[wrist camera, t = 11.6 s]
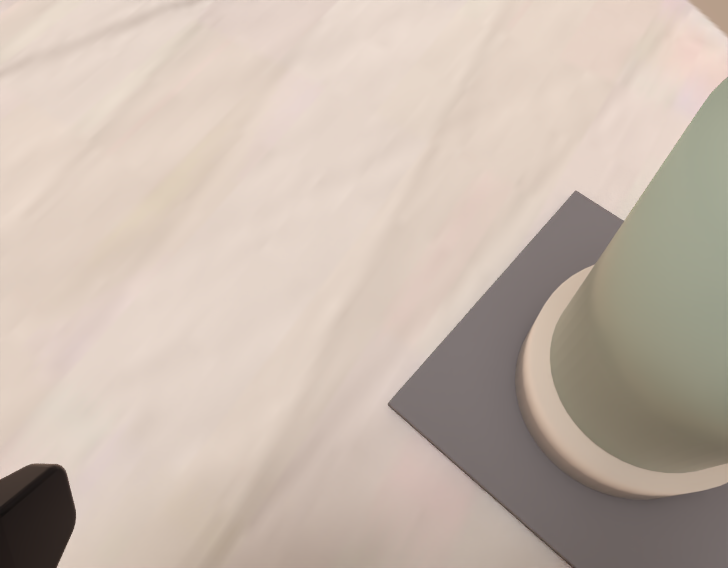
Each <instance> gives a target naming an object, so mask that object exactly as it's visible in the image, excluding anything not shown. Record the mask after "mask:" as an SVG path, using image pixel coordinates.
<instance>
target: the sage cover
mask: <svg viewBox="0 0 728 568" xmlns="http://www.w3.org/2000/svg"><path fill="white" fill-rule="evenodd" d="M550 365H551V374H552V378H553V382H554V386H555V388H556V391H557V393H558V396H559V399H560V401H561V402H562V404H563V406H564V408H565V410H566V412H567V413H568V414H569V416H570V417H571V419H572V420H573V421H574V423H575V424H576V425H577V426H578V427H579V429H580V430H581V431H582V432H583V433H584V434H585V435H586V436H587V437H588V438H589V439H590V440H592V441H593V442H594V443H595V444H596V445H597V446H599V447H600V448H602V449H603V450H605V451H606V452H607V453H609V454H611V455H612V456H614V457H616V458H618V459H620V460H622V461H624V462H626V463H629V464H631V465H634V466H636V467H639V468H643V469H647V470H650V471H656V472H663V473H687V472H695V471H699V470H703V469H707V468H711V467H715V466H719V465H723V464H727V463H728V77H727V78H726V79H725V80H724V81H723V82H722V83H721V84H720V85H719V86H718V87H717V88H716V89H715V90H714V91H713V92H712V93H711V94H710V95H709V97H708V98H707V99H706V101H705V102H704V104H703V105H702V106H701V108H700V109H699V111H698V112H697V114H696V115H695V117H694V118H693V120H692V121H691V123H690V124H689V126H688V127H687V129H686V130H685V132H684V133H683V135H682V136H681V138H680V139H679V140H678V142H677V143H676V145H675V146H674V148H673V149H672V151H671V152H670V154H669V155H668V157H667V158H666V160H665V161H664V163H663V164H662V166H661V167H660V169H659V170H658V172H657V173H656V175H655V176H654V178H653V179H652V181H651V182H650V184H649V185H648V187H647V188H646V189H645V191H644V192H643V194H642V195H641V197H640V198H639V200H638V201H637V203H636V204H635V206H634V207H633V209H632V210H631V212H630V213H629V215H628V216H627V218H626V219H625V221H624V222H623V224H622V225H621V227H620V228H619V230H618V231H617V233H616V234H615V235H614V237H613V238H612V240H611V241H610V243H609V244H608V246H607V247H606V249H605V250H604V252H603V253H602V255H601V256H600V258H599V259H598V261H597V262H596V264H595V265H594V267H593V268H592V270H591V271H590V273H589V274H588V276H587V277H586V279H585V280H584V281H583V283H582V284H581V286H580V287H579V289H578V290H577V292H576V293H575V295H574V296H573V298H572V299H571V301H570V302H569V304H568V305H567V307H566V308H565V310H564V311H563V313H562V314H561V316H560V318H559V320H558V322H557V324H556V326H555V329H554V333H553V336H552V341H551V347H550Z"/></svg>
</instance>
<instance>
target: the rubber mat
mask: <svg viewBox="0 0 728 568" xmlns="http://www.w3.org/2000/svg"><path fill="white" fill-rule="evenodd" d="M623 222H624V221H623V220H621V219H620V218H618V217H617V216H615V215H614V214H612V213H610V212H609V211H607V210H606V209H604V208H603V207H601V206H599V205H598V204H596V203H595V202H593V201H592V200H590V199H588V198H587V197H585V196H584V195H582V194H581V193H579V192H577V191H575V192H574V193H573V194H572V195H571V196H570V198H569V199H568V200H567V201H566V202H565V203H564V204H563V205H562V207H561V208H560V209H559V210H558V211H557V212H556V213H555V215H554V216H553V217H552V218H551V219H550V220H549V221H548V222H547V224H546V225H545V226H544V227H543V228H542V229H541V230H540V232H539V233H538V234H537V235H536V236H535V237H534V238H533V239H532V241H531V242H530V243H529V244H528V245H527V246H526V247H525V249H524V250H523V251H522V252H521V253H520V254H519V255H518V256H517V258H516V259H515V260H514V261H513V262H512V263H511V264H510V266H509V267H508V268H507V269H506V270H505V271H504V272H503V273H502V275H501V276H500V277H499V278H498V279H497V280H496V281H495V283H494V284H493V285H492V286H491V287H490V288H489V289H488V290H487V292H486V293H485V294H484V295H483V296H482V297H481V298H480V300H479V301H478V302H477V303H476V304H475V305H474V306H473V307H472V309H471V310H470V311H469V312H468V313H467V314H466V315H465V317H464V318H463V319H462V320H461V321H460V322H459V323H458V324H457V326H456V327H455V328H454V329H453V330H452V331H451V332H450V334H449V335H448V336H447V337H446V338H445V339H444V340H443V341H442V343H441V344H440V345H439V346H438V347H437V348H436V349H435V351H434V352H433V353H432V354H431V355H430V356H429V357H428V359H427V360H426V361H425V362H424V363H423V364H422V365H421V366H420V368H419V369H418V370H417V371H416V372H415V373H414V374H413V376H412V377H411V378H410V379H409V380H408V381H407V382H406V383H405V385H404V386H403V387H402V388H401V389H400V390H399V391H398V393H397V394H396V395H395V396H394V397H393V398H392V399H391V400H390V402H389V403H388V406H390V407H391V408H392V409H393V410H394V411H395V412H396V413H398V414H399V415H400V416H401V417H402V418H403V419H404V420H406V421H407V422H408V423H409V424H410V425H411V426H412V427H413V428H415V429H416V430H417V431H418V432H419V433H420V434H421V435H423V436H424V437H425V438H426V439H427V440H428V441H429V442H431V443H432V444H433V445H434V446H435V447H436V448H437V449H439V450H440V451H441V452H442V453H443V454H444V455H445V456H447V457H448V458H449V459H450V460H451V461H452V462H453V463H455V464H456V465H457V466H458V467H459V468H460V469H461V470H463V471H464V472H465V473H466V474H467V475H468V476H469V477H470V478H472V479H473V480H474V481H475V482H476V483H477V484H478V485H480V486H481V487H482V488H483V489H484V490H485V491H486V492H488V493H489V494H490V495H491V496H492V497H493V498H494V499H496V500H497V501H498V502H499V503H500V504H501V505H502V506H504V507H505V508H506V509H507V510H508V511H509V512H510V513H512V514H513V515H514V516H515V517H516V518H517V519H518V520H520V521H521V522H522V523H523V524H524V525H525V526H526V527H528V528H529V529H530V530H531V531H532V532H533V533H534V534H535V535H537V536H538V537H539V538H540V539H541V540H542V541H543V542H545V543H546V544H547V545H548V546H549V547H550V548H551V549H553V550H554V551H555V552H556V553H557V554H558V555H559V556H561V557H562V558H563V559H564V560H565V561H566V562H567V563H569V564H570V565H571V566H572V567H573V568H728V483H725V484H723V485H721V486H718V487H714V488H711V489H707V490H703V491H698V492H692V493H687V494H681V495H676V496H670V497H665V498H658V499H650V500H632V499H625V498H618V497H614V496H611V495H607V494H603V493H601V492H598V491H596V490H593V489H591V488H589V487H586V486H585V485H583V484H581V483H579V482H578V481H576V480H574V479H573V478H571V477H570V476H568V475H567V474H566V473H564V472H563V471H562V470H560V469H559V468H558V467H557V466H556V465H555V464H554V463H553V462H552V461H551V460H549V458H548V457H547V456H546V455H545V454H544V453H543V451H542V450H541V449H540V448H539V447H538V445H537V444H536V442H535V441H534V439H533V438H532V436H531V434H530V432H529V431H528V429H527V427H526V425H525V423H524V420H523V417H522V415H521V412H520V409H519V405H518V401H517V396H516V387H515V372H516V364H517V359H518V355H519V352H520V349H521V346H522V344H523V342H524V340H525V338H526V336H527V334H528V332H529V330H530V329H531V327H532V325H533V324H534V322H535V320H536V318H537V317H538V315H539V313H540V311H541V310H542V308H543V306H544V305H545V303H546V302H547V300H548V299H549V298H550V296H551V295H552V293H553V292H554V291H555V290H556V289H557V288H558V287H559V286H560V285H561V284H562V283H563V282H565V281H566V280H567V279H569V278H570V277H571V276H572V275H574V274H576V273H578V272H579V271H581V270H583V269H585V268H587V267H590V266H592V265H595V264H596V262H597V261H598V259H599V258H600V256H601V255H602V253H603V252H604V250H605V249H606V247H607V246H608V244H609V243H610V241H611V240H612V238H613V237H614V235H615V234H616V233H617V231H618V230H619V228H620V227H621V225H622V224H623Z"/></svg>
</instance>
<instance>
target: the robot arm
mask: <svg viewBox="0 0 728 568" xmlns="http://www.w3.org/2000/svg"><path fill="white" fill-rule="evenodd" d="M75 521H76V509H75V505H74V501H73V497H72V493H71V489H70V485H69V481H68V477H67V473H66V470H65V469H64V468H63V467H62V466H60V465H58V464H30V465H28V466H25V467H23V468H22V469H20V470H18V471H16V472H14V473H12V474H10V475H8V476H6V477H4V478H2V479H0V568H57V566H58V563H59V561H60V559H61V557H62V554H63V552H64V550H65V548H66V545H67V543H68V541H69V539H70V536H71V534H72V532H73V529H74V526H75Z"/></svg>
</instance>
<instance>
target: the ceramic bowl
mask: <svg viewBox="0 0 728 568" xmlns="http://www.w3.org/2000/svg"><path fill="white" fill-rule="evenodd" d="M593 267H594V265H592V266H590V267H587V268H585V269H583V270H581V271H579V272H578V273H576V274H574V275H572V276H571V277H570V278H569V279H567V280H566V281H565V282H563V283H562V284H561V285H560V286H559V287H558V288H557V289H556V290H555V291H554V292H553V293H552V295H551V296H550V298H549V299H548V300H547V302H546V303H545V305H544V306H543V308H542V310H541V311H540V313H539V315H538V317H537V318H536V320H535V322H534V324H533V325H532V327H531V329H530V330H529V332H528V334H527V336H526V338H525V340H524V342H523V344H522V346H521V349H520V352H519V355H518V359H517V364H516V372H515V387H516V396H517V401H518V405H519V409H520V412H521V415H522V417H523V420H524V423H525V425H526V427H527V429H528V431H529V432H530V434H531V436H532V438H533V439H534V441H535V442H536V444H537V445H538V447H539V448H540V449H541V450H542V451H543V453H544V454H545V455H546V456H547V457H548V458H549V460H551V461H552V462H553V463H554V464H555V465H556V466H557V467H558V468H559V469H560V470H562V471H563V472H564V473H566V474H567V475H568V476H570V477H571V478H573V479H574V480H576V481H578V482H579V483H581V484H583V485H585V486H586V487H589V488H591V489H593V490H596V491H598V492H601V493H603V494H607V495H611V496H614V497H618V498H625V499H632V500H650V499H658V498H665V497H670V496H676V495H681V494H687V493H692V492H698V491H703V490H707V489H711V488H714V487H718V486H721V485H723V484H725V483H728V463H727V464H723V465H719V466H715V467H711V468H707V469H703V470H699V471H695V472H687V473H663V472H656V471H650V470H647V469H643V468H639V467H636V466H634V465H631V464H629V463H626V462H624V461H622V460H620V459H618V458H616V457H614V456H612V455H611V454H609V453H607V452H606V451H605V450H603V449H602V448H600V447H599V446H597V445H596V444H595V443H594V442H593V441H592V440H590V439H589V438H588V437H587V436H586V435H585V434H584V433H583V432H582V431H581V430H580V429H579V427H578V426H577V425H576V424H575V423H574V421H573V420H572V419H571V417H570V416H569V414H568V413H567V412H566V410H565V408H564V406H563V404H562V402H561V401H560V399H559V396H558V393H557V391H556V388H555V386H554V382H553V378H552V374H551V365H550V347H551V341H552V336H553V333H554V329H555V326H556V324H557V322H558V320H559V318H560V316H561V314H562V313H563V311H564V310H565V308H566V307H567V305H568V304H569V302H570V301H571V299H572V298H573V296H574V295H575V293H576V292H577V290H578V289H579V287H580V286H581V284H582V283H583V281H584V280H585V279H586V277H587V276H588V274H589V273H590V271H591V270H592V268H593Z"/></svg>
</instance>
